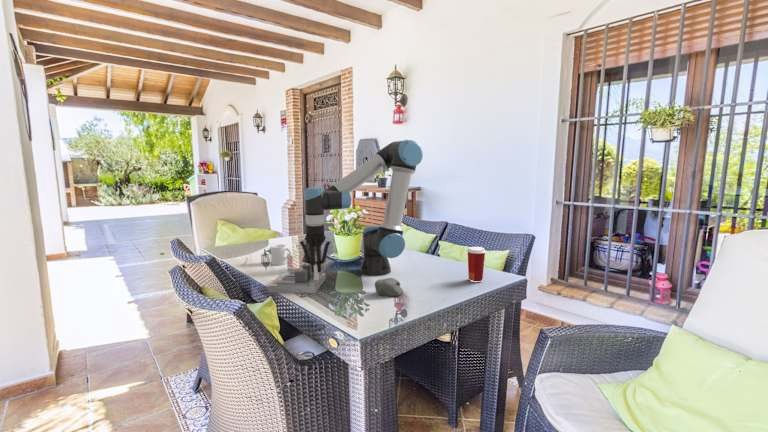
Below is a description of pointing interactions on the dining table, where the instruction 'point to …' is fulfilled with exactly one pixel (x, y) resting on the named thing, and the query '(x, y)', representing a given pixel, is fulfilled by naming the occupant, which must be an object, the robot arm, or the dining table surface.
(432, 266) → the dining table surface
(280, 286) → the switch unit
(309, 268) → the block
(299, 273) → the slider near
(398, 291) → the stone
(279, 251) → the mug
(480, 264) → the beer glass
